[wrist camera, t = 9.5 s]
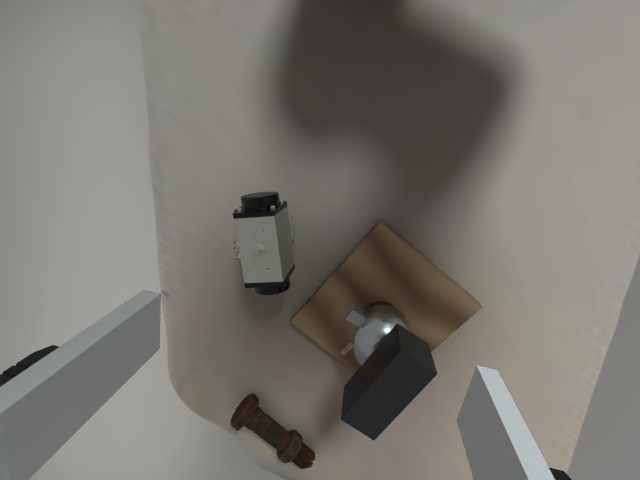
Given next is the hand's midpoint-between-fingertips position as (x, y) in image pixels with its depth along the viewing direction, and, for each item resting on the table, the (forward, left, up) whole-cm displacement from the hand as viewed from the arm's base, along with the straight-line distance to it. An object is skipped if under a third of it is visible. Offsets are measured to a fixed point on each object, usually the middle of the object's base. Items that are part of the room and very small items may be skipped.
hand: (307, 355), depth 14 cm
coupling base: (+9, +13, -34) cm, 38 cm away
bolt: (+37, +15, -35) cm, 53 cm away
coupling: (+9, +13, -29) cm, 33 cm away
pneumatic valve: (+9, -6, -34) cm, 36 cm away
